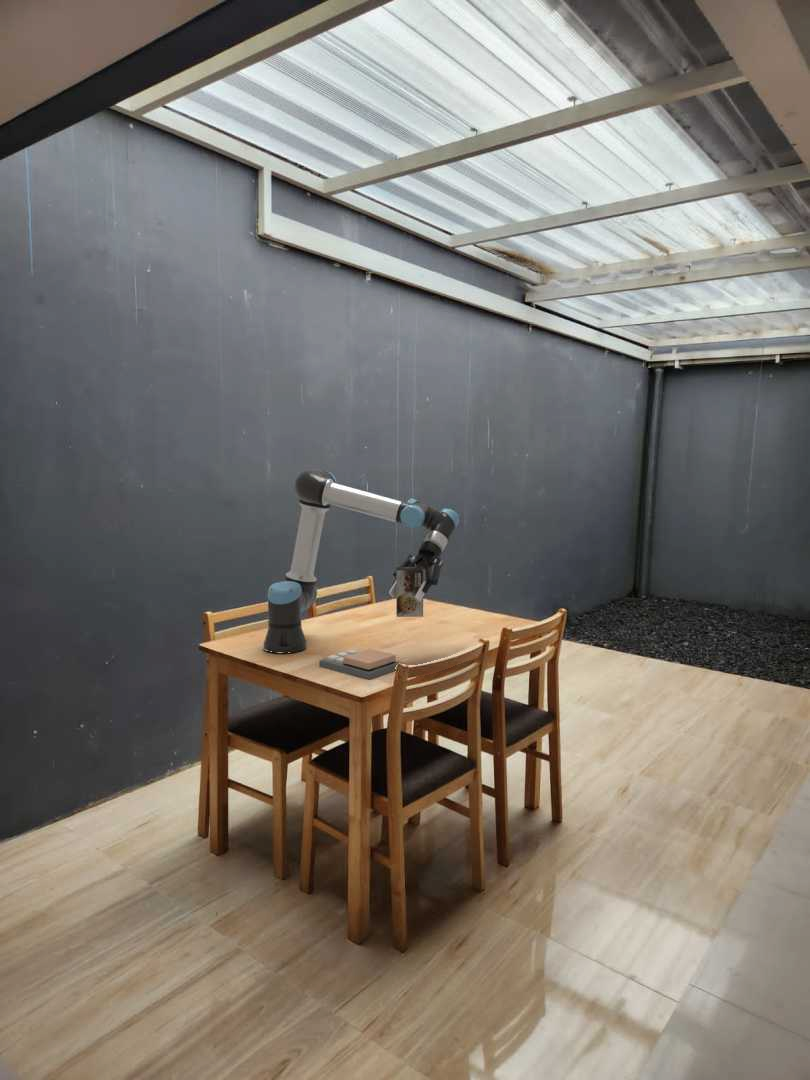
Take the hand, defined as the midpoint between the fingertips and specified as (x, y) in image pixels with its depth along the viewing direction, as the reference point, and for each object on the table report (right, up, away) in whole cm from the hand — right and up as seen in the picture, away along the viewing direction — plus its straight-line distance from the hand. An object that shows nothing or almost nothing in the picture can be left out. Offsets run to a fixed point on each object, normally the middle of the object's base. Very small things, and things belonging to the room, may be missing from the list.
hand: (404, 597), depth 232 cm
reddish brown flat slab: (-11, -20, -8) cm, 25 cm away
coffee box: (+2, -7, +3) cm, 7 cm away
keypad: (-14, -22, -5) cm, 27 cm away
